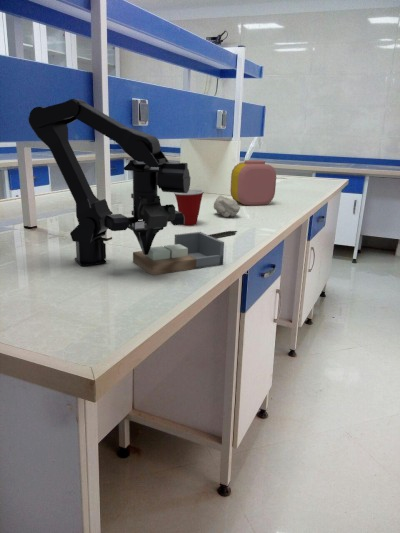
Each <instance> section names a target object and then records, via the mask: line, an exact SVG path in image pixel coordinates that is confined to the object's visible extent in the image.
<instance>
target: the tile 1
mask: <svg viewBox="0 0 400 533" xmlns="http://www.w3.org/2000/svg"><path fill="white" fill-rule="evenodd" d="M146 256H147V257H149V258H150V259H152V260H161V259H168V258H170V250H168V249H167V248H165V247H164V245H160V246H153V247H152V246H151V248H150V251H149V253H148V255H146Z"/></svg>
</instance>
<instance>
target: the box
mask: <svg viewBox="0 0 400 533" xmlns="http://www.w3.org/2000/svg"><path fill="white" fill-rule="evenodd" d="M209 235H210V234H206V233H204V232H202V231H197V232H186V233H177V234H174V244H173V245H176V244H180V245H182V246H184V247H186V248H188V255H190V256H192V257H194V258H196V259H197V262H196V269H202V268H207V267H216V266H221V265H224V255H225V254H224V253H225V252H224V251H225V250H224V249H225V241H222V240H220V239H217V238H213V237H211V236H209Z"/></svg>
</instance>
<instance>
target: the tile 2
mask: <svg viewBox="0 0 400 533" xmlns="http://www.w3.org/2000/svg"><path fill="white" fill-rule="evenodd" d="M163 247H165V248H167V249H168V250H170V257H171V258H176V257H183V256H188V248H186V247H184V246H182V245H180V244H176V245H174V244H169V245H163Z"/></svg>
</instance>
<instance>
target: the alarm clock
mask: <svg viewBox="0 0 400 533" xmlns="http://www.w3.org/2000/svg"><path fill="white" fill-rule="evenodd" d="M230 175H231V176H230V190H229V192H230V195H231V197H232V198H231V199H232V200H234V201H235V202H237V203H240V204H242V205H243V206H265V205H268V204H269V203H271V202H272V200H273V199H274V198H275V195H276V186H277V172H276V170H275V168H274V166H272V164H271V165H270V164H267V163H266V160H262V159H261V160H259V159H258V160H257V159H246V160H245V159H244V162H240V163H239V162H238V163H237V164H236V165H235V166H234V167H233V169H232V170H231V174H230Z"/></svg>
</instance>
